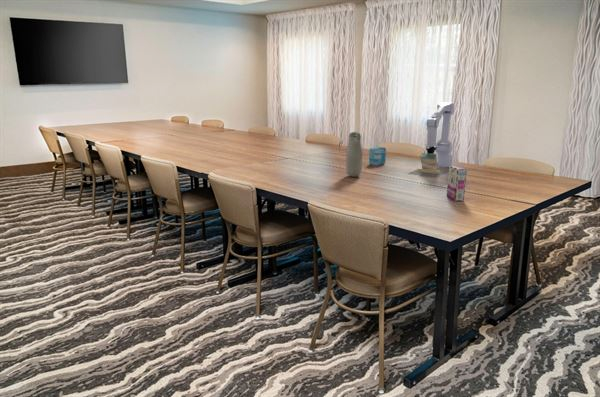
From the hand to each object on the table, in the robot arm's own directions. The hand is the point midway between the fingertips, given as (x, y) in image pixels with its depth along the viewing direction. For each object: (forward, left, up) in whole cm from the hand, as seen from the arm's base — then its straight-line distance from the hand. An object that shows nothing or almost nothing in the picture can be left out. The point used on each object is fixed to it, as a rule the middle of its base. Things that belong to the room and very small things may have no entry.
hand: (430, 158), depth 300 cm
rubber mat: (+2, +1, -9) cm, 10 cm away
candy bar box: (+27, +60, -10) cm, 67 cm away
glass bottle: (+51, -8, -10) cm, 52 cm away
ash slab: (-1, -1, -8) cm, 8 cm away
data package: (+17, -39, -10) cm, 43 cm away
